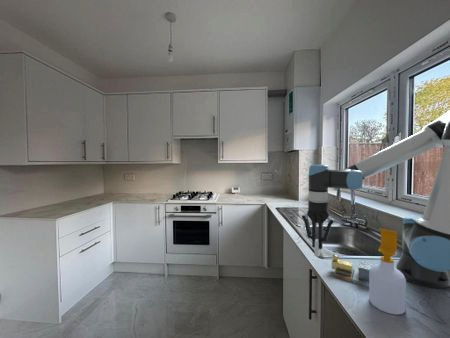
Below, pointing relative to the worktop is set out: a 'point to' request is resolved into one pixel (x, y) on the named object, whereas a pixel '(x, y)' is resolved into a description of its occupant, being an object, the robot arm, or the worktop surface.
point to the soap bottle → (387, 278)
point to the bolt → (341, 265)
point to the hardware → (363, 271)
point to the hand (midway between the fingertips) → (317, 255)
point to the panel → (353, 278)
